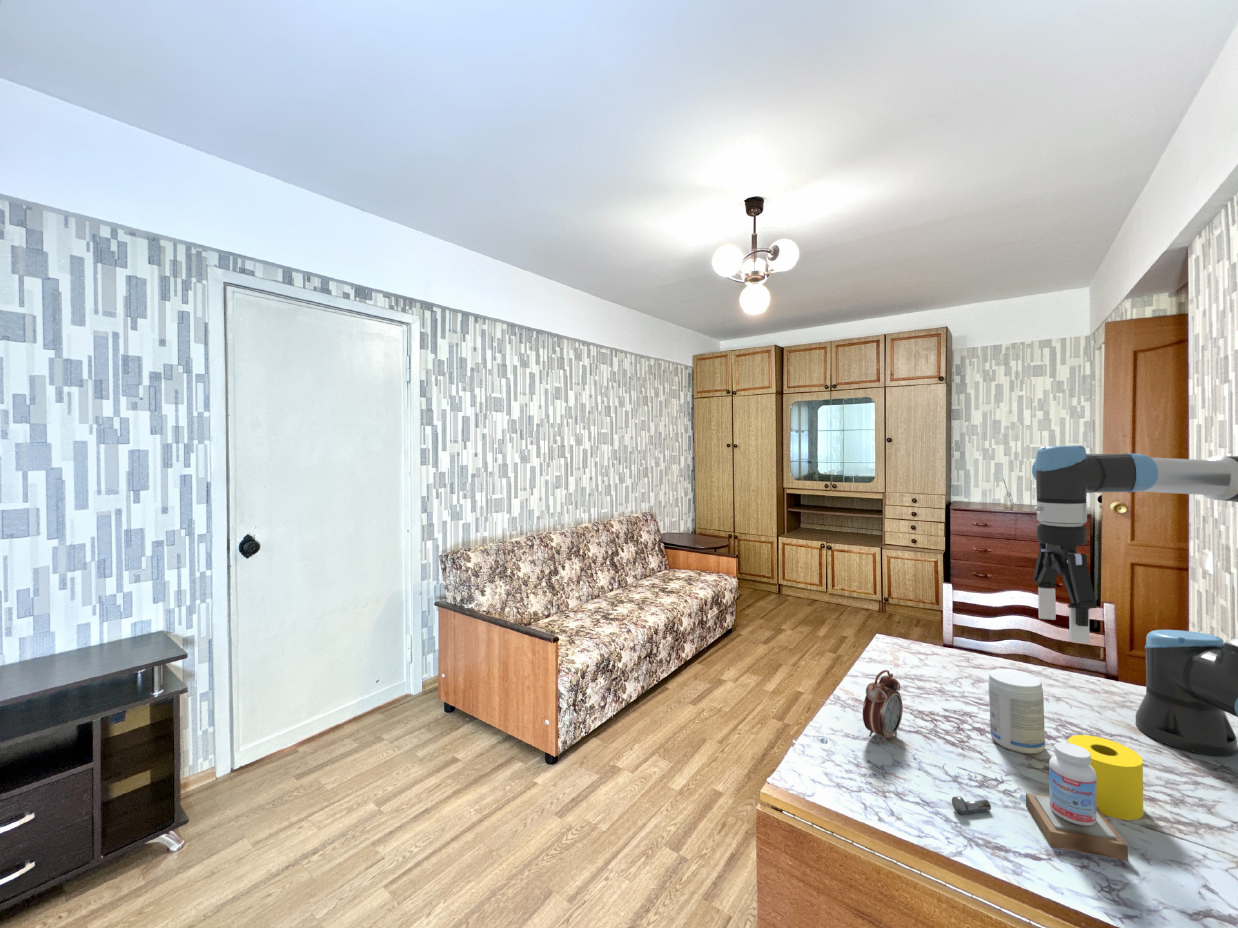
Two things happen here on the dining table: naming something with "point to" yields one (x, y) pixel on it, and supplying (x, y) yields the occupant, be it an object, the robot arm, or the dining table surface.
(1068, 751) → the pill bottle
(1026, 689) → the supplement tub
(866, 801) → the dining table surface
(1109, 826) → the stand
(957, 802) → the loose bolt
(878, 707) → the alarm clock
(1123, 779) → the yellow toilet paper roll
